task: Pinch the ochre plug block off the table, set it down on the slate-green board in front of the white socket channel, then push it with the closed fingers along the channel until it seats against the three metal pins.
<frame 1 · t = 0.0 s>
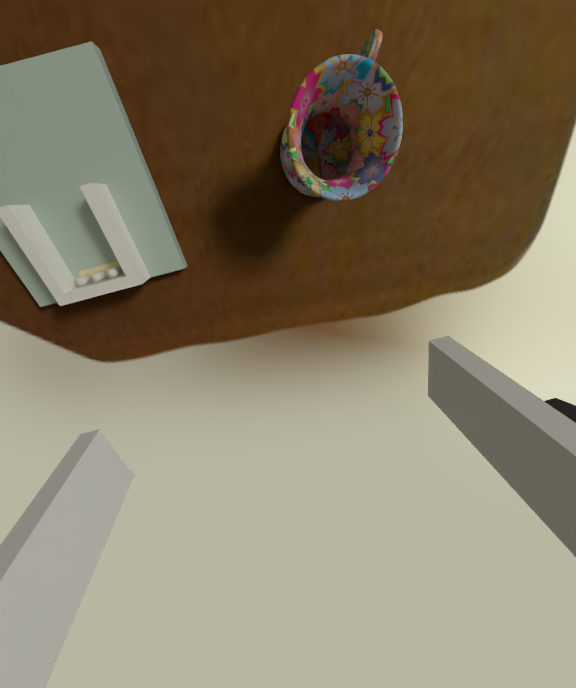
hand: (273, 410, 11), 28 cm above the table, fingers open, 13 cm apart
board: (70, 196, 30), on the table
mug: (321, 140, 31), on the table
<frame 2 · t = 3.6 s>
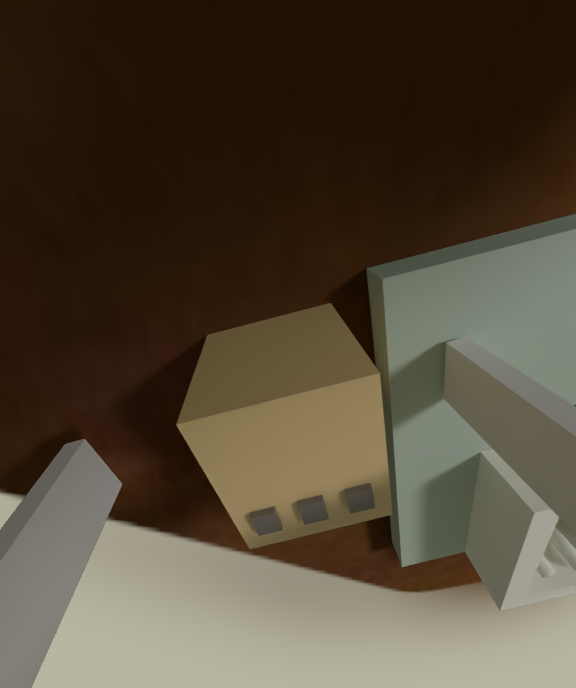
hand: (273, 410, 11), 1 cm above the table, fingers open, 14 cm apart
board: (547, 408, 15), on the table
plug: (286, 377, 12), on the table
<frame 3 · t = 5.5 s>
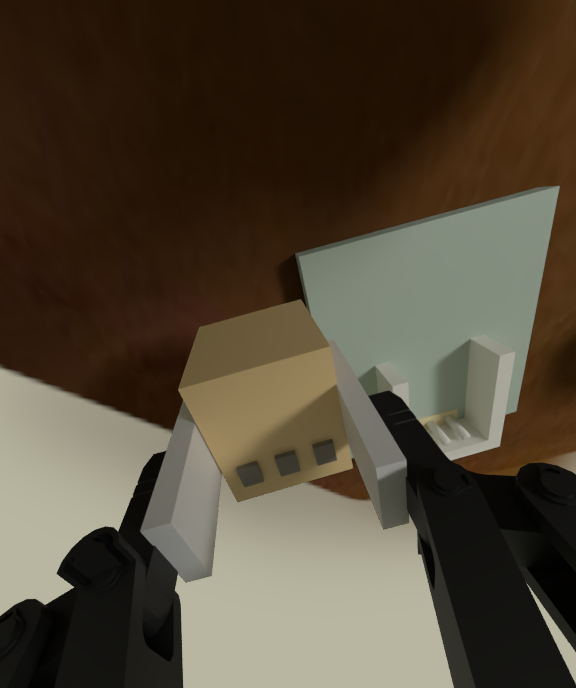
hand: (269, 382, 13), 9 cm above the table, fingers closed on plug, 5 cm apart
board: (419, 342, 24), on the table
plug: (266, 364, 15), point 7 cm above the table, touching gripper
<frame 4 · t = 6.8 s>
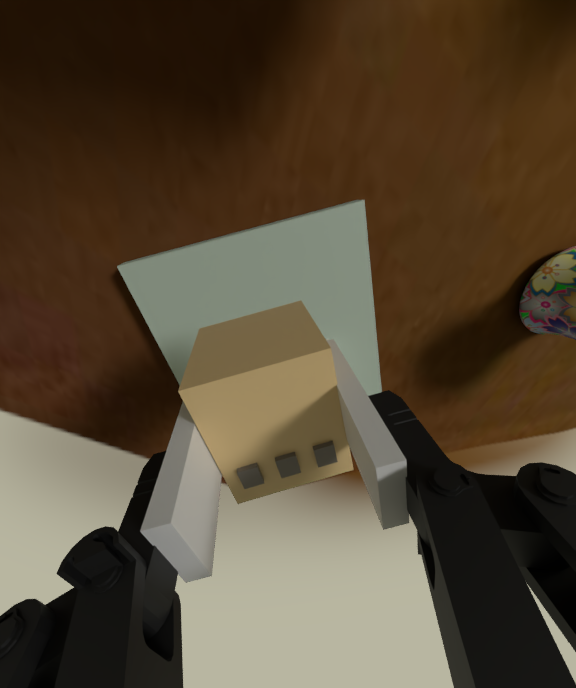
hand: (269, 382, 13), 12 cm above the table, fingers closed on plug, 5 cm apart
board: (274, 344, 26), on the table
mug: (563, 275, 26), on the table
plug: (267, 366, 15), point 10 cm above the table, touching gripper
when the fingers open (2 cm above the table, at t = 9.1 s): plug stays where it is, resting on board.
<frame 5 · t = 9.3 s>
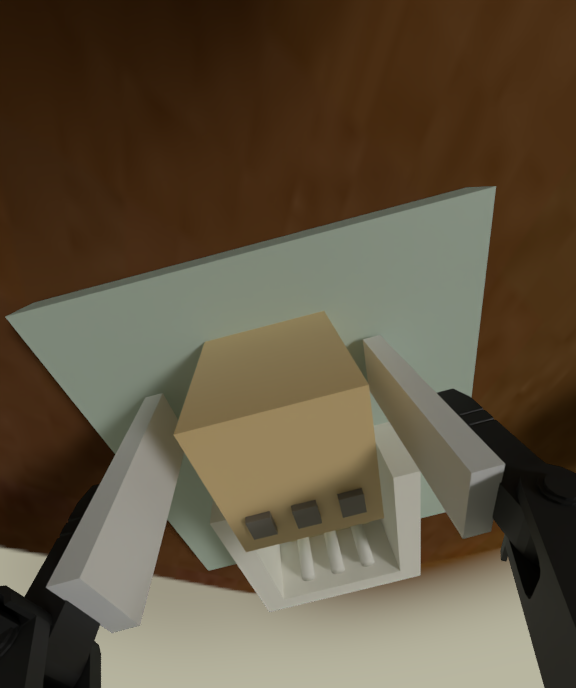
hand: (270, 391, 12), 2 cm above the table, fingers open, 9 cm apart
board: (299, 422, 16), on the table
plug: (281, 384, 13), point 1 cm above the table, touching board
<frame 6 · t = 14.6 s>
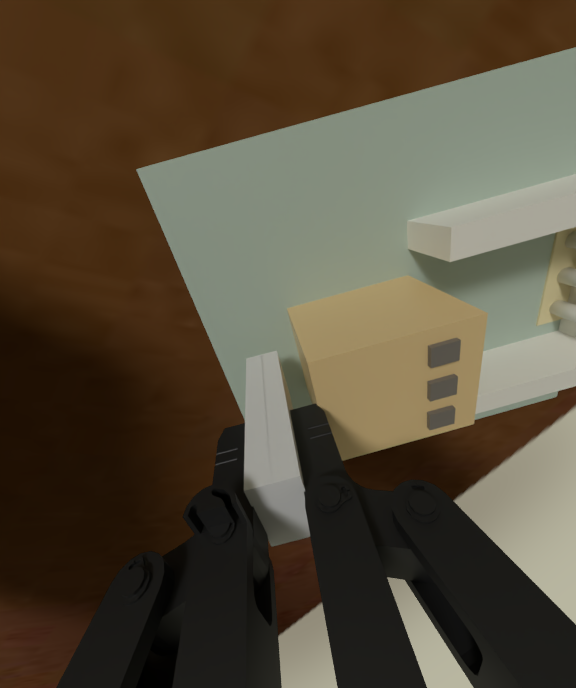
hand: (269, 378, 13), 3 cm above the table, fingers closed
board: (396, 307, 16), on the table
plug: (353, 336, 14), point 1 cm above the table, touching board, gripper
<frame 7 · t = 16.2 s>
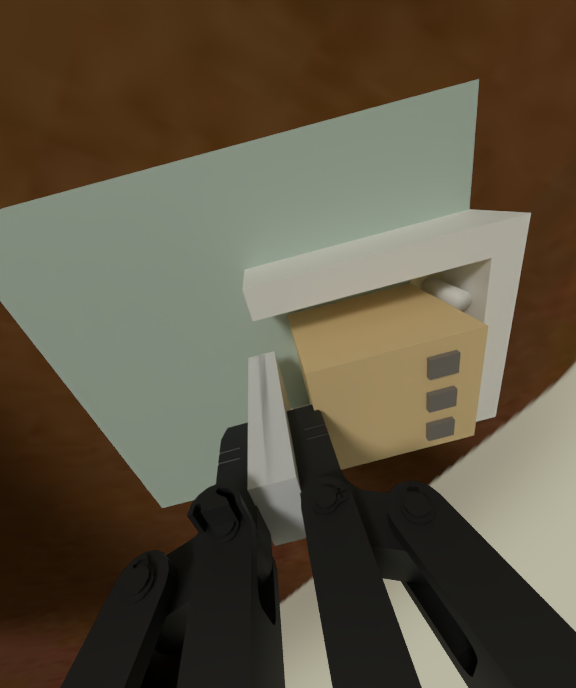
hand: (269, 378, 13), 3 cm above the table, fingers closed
board: (270, 345, 16), on the table
plug: (354, 343, 14), point 1 cm above the table, touching board, gripper
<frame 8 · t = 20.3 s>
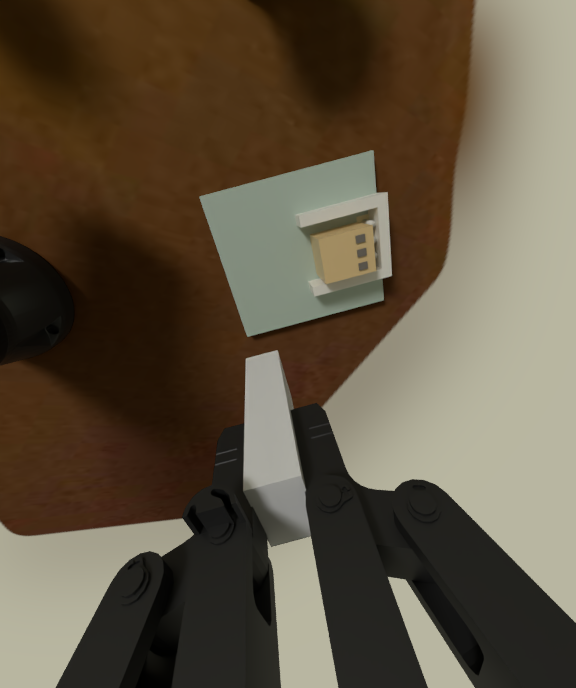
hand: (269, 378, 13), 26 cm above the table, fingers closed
board: (300, 252, 36), on the table
plug: (336, 248, 35), point 1 cm above the table, touching board
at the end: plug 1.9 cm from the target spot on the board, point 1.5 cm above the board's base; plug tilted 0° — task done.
